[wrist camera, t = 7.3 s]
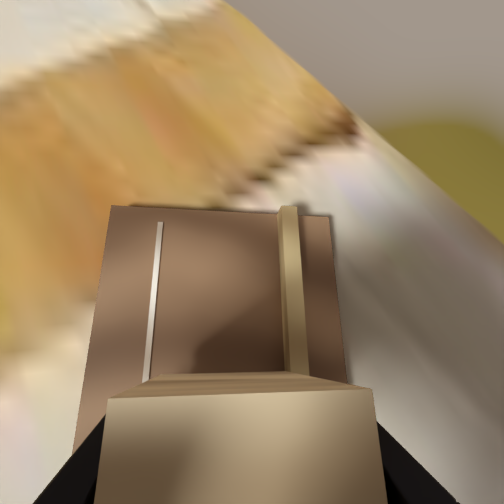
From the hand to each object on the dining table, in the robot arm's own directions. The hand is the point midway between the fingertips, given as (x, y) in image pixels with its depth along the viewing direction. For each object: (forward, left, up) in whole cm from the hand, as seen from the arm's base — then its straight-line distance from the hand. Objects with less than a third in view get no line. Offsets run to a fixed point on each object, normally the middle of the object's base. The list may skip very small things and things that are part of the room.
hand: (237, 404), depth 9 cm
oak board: (+1, 0, -8) cm, 8 cm away
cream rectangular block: (-1, 0, -5) cm, 6 cm away
